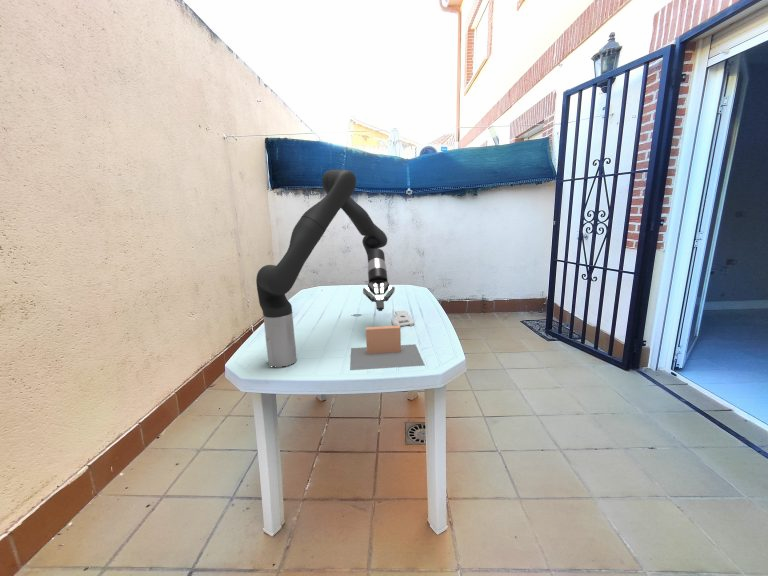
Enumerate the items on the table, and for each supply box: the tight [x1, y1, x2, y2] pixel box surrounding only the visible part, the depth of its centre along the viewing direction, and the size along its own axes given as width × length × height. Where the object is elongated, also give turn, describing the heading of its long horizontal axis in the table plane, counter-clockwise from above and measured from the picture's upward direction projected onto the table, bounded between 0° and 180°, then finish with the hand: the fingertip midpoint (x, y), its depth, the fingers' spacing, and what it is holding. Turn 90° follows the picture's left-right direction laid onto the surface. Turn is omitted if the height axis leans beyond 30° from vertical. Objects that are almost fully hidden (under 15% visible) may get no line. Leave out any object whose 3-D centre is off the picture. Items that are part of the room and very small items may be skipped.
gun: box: [390, 310, 415, 327], centre depth 155 cm, size 18×3×10 cm
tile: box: [365, 325, 402, 354], centre depth 121 cm, size 12×2×9 cm, turn 94°
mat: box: [349, 344, 425, 371], centre depth 118 cm, size 24×18×1 cm
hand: (380, 310), depth 128 cm, fingers closed
